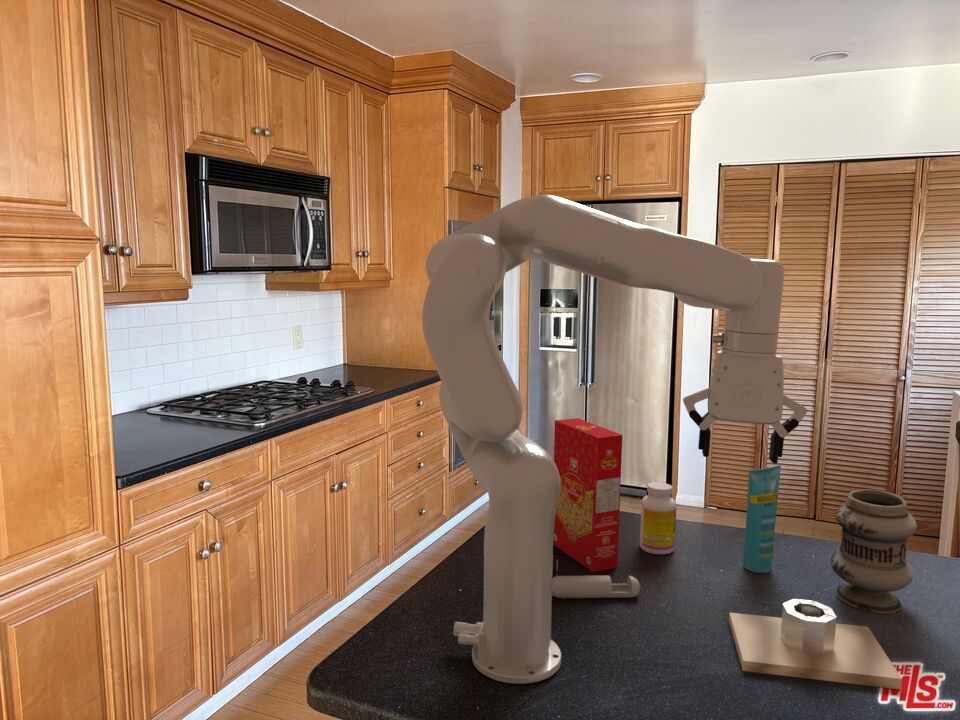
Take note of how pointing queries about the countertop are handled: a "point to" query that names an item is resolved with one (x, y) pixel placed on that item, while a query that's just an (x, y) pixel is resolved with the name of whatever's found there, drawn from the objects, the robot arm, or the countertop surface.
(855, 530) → the apothecary jar
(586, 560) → the food packaging
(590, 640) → the countertop surface
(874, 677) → the base
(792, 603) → the steel hub
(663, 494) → the supplement bottle
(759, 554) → the tube
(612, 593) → the torpedo
